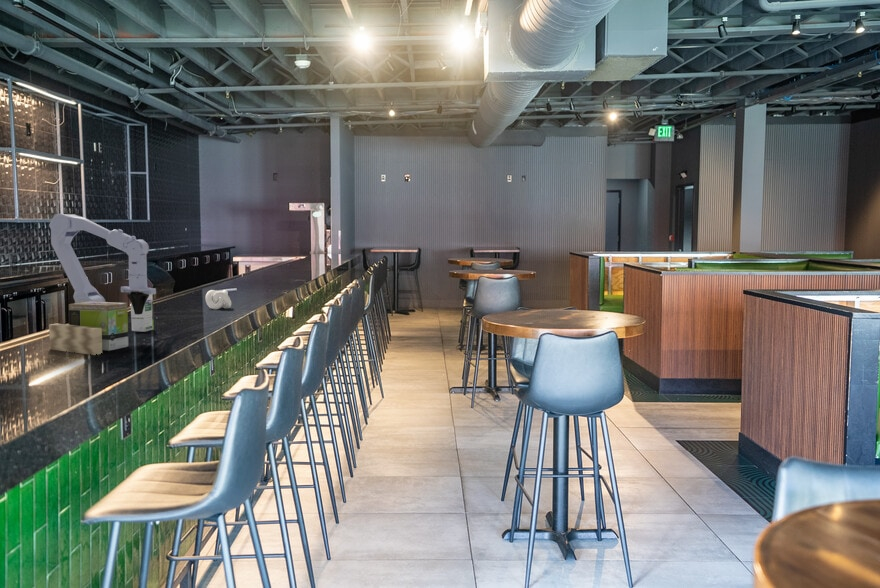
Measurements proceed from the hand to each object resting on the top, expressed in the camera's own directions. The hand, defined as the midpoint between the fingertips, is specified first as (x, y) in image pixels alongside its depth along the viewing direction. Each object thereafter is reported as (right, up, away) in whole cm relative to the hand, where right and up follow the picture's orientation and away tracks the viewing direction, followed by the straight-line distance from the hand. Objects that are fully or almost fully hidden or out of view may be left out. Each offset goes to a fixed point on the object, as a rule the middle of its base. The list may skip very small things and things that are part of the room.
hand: (138, 314), depth 249 cm
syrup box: (-9, -7, +25) cm, 27 cm away
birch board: (-11, -11, -22) cm, 27 cm away
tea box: (-7, -11, -14) cm, 19 cm away
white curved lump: (-2, 0, +98) cm, 98 cm away
